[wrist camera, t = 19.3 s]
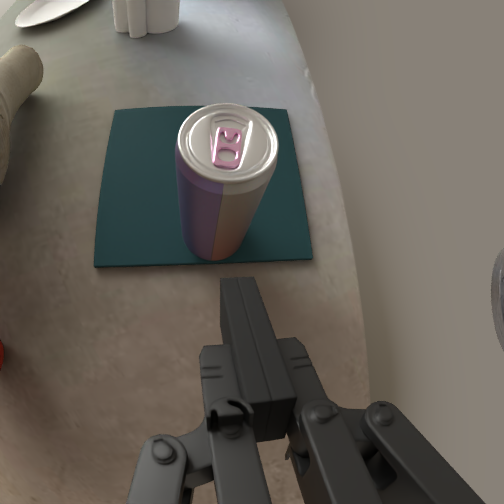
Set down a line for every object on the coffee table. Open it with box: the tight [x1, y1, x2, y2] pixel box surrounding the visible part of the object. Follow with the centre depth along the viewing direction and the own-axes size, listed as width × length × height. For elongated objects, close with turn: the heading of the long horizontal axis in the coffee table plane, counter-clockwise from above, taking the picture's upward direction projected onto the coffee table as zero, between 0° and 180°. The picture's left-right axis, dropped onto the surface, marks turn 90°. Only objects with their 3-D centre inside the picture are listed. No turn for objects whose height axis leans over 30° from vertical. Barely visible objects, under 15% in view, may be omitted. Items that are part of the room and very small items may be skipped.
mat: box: [94, 106, 313, 268], centre depth 32 cm, size 22×20×1 cm
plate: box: [15, 0, 89, 27], centre depth 39 cm, size 21×21×2 cm
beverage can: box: [175, 103, 279, 261], centre depth 23 cm, size 6×6×15 cm
